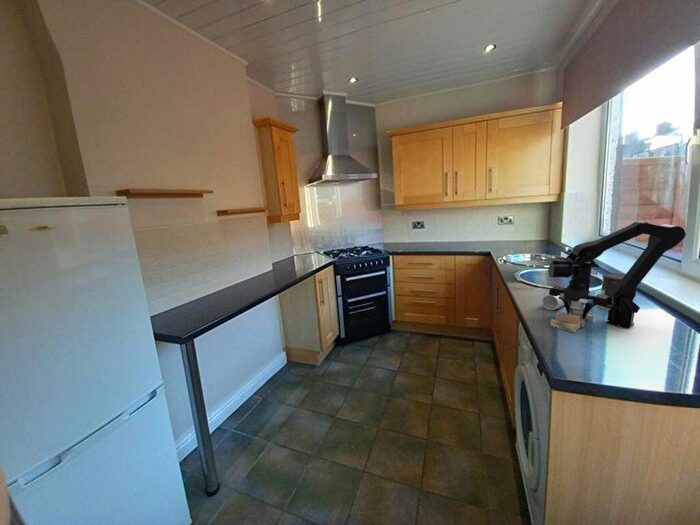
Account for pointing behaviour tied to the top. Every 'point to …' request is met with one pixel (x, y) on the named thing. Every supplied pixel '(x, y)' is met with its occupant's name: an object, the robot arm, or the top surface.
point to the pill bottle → (577, 308)
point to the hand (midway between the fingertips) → (576, 316)
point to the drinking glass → (552, 302)
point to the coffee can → (607, 280)
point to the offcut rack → (569, 326)
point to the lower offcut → (573, 324)
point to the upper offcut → (567, 318)
